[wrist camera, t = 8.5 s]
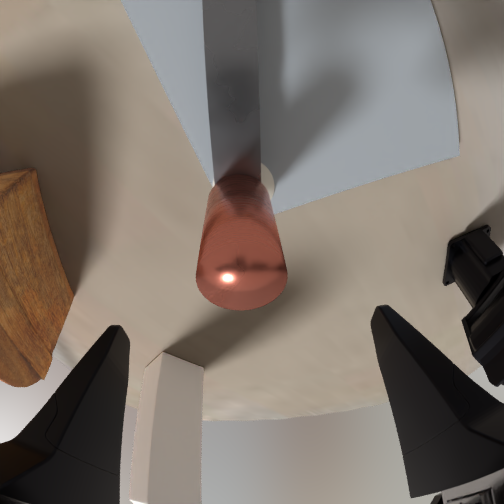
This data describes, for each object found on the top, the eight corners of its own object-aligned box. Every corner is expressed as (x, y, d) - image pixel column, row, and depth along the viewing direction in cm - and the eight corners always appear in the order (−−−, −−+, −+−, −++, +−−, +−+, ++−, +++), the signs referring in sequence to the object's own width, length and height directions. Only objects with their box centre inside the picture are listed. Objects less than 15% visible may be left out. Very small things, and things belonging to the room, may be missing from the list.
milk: (204, 366, 34) (204, 534, 16) (182, 382, 36) (177, 528, 19) (161, 350, 31) (147, 531, 14) (143, 367, 34) (128, 522, 16)
